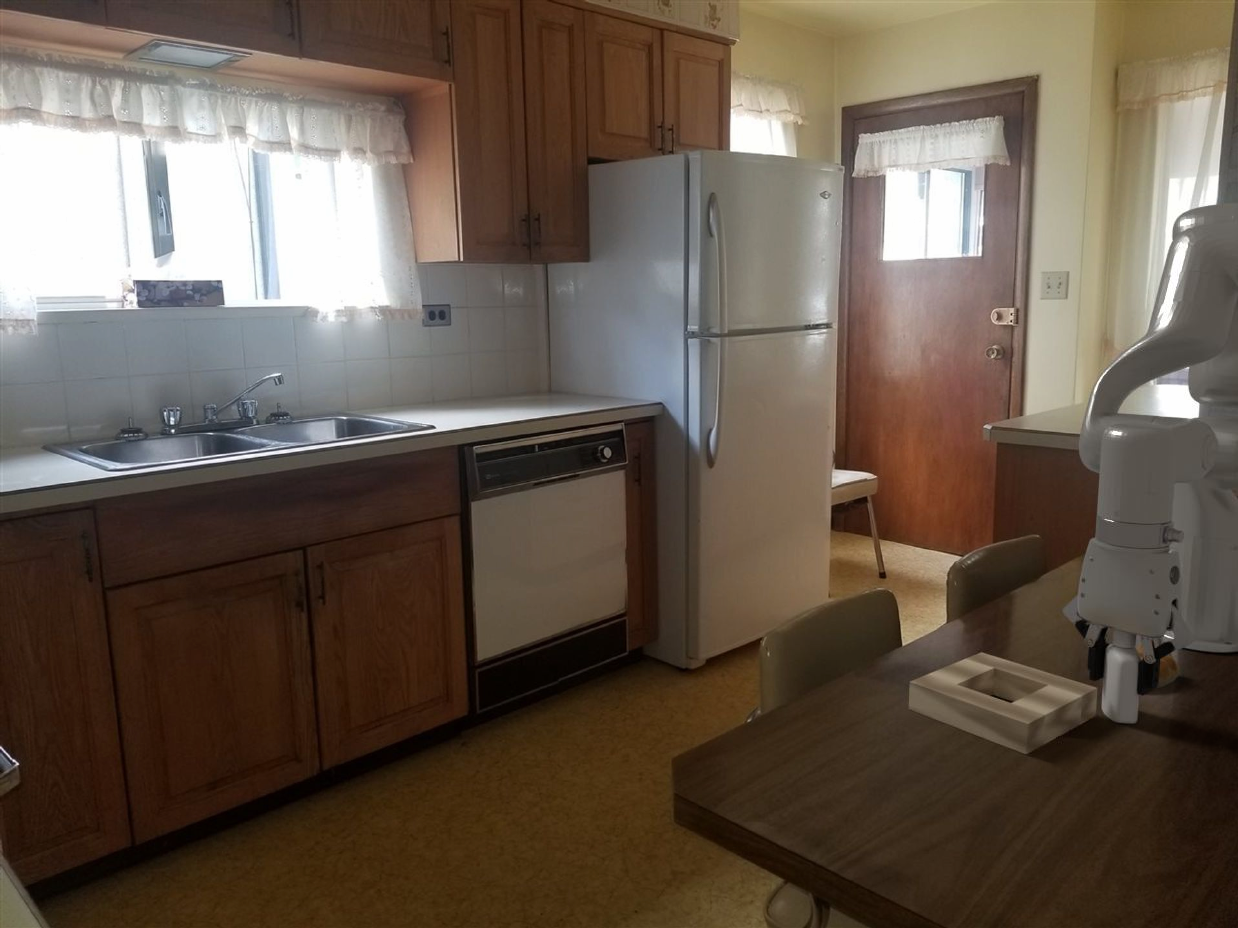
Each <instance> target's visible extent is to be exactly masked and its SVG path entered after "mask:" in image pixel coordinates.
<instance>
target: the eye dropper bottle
mask: <svg viewBox="0 0 1238 928" xmlns="http://www.w3.org/2000/svg"><path fill="white" fill-rule="evenodd" d="M1111 637H1112V639H1111V643H1109V645H1108V646H1107V648H1106V651H1105V661H1104V676H1103V678H1102V679H1103V680H1102V692H1101V693H1102V695H1101V711H1102V713H1103V714H1104V715H1105V716H1106V717H1107V718H1108V719H1110V720H1111V721H1113V722H1114V723H1119V724H1136V723H1137V722H1138V716H1139V715H1138V714H1139V702H1140V700H1139V699H1140V695H1138V694H1137V683H1138V663H1139V661H1141V657H1140V655H1139V653H1138V651H1137V649H1136V648H1137V647H1136V644H1137V643H1136V642H1137V635H1136V634H1132V633H1128V632H1124V631H1120V630H1116V629H1112V636H1111Z"/></svg>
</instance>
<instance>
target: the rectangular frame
mask: <svg viewBox="0 0 1238 928" xmlns="http://www.w3.org/2000/svg"><path fill="white" fill-rule="evenodd" d="M994 696H996V697H994ZM997 697H998V698H997ZM999 698H1001V699H999ZM1004 699H1005V700H1008V701H1005V700H1004ZM1009 701H1011V702H1009ZM1097 701H1098V687H1095V686H1092V685H1090V684H1089V685H1088V684H1086V683H1082V682H1079V681H1075V680H1073V679H1069V678H1067V677H1063V676H1060V675H1057V674H1053V673H1049V672H1046V671H1044V670H1041V669H1037V668H1034V667H1031V666H1028V665H1027V666H1026V665H1024V664H1021V663H1017V662H1013V661H1010V660H1008V659H1005V658H1001V657H998V656H995V655H992V654H991V655H990V654H988V653H985V652H979V653H977V654H974V655H970V656H969V657H966V658H964V659H962V660H959V661H957V662H954V663H952V664H950V665H946V666H944V667H942V668H940V669H937V670H935V671H932V672H930V673H928V674H925V675H922V676H920V677H918V678H915V679H913V680H911V681H909V691H908V710H910V711H913V712H915V713H918V714H920V715H923V716H926V717H928V718H931V719H933V720H935V721H938V722H941V723H944V724H946V725H949V726H951V727H954V728H956V729H959V730H961V731H964V732H967V733H970V734H972V735H975V736H977V737H979V738H981V739H985V740H987V741H989V742H993V743H996V744H998V745H1001V746H1003V747H1006V748H1009V749H1011V750H1014V751H1016V752H1019V753H1021V754H1024V755H1028V754H1029V753H1031V752H1033V751H1036V750H1037V749H1039V748H1040V747H1043V746H1045V745H1046V744H1047V743H1050V742H1052V741H1053V740H1055V739H1057V738H1059V737H1061V736H1062V735H1064V734H1066V733H1068V732H1070V731H1072V730H1074V728H1077V727H1079V726H1080V725H1082V724H1084V723H1086V722H1088V721H1089V719H1090V720H1091V719H1094V718H1095V717H1096V715H1097ZM1078 725H1079V726H1078ZM1069 730H1070V731H1069ZM1058 736H1059V737H1058ZM1056 737H1057V738H1056Z"/></svg>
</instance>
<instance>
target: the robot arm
mask: <svg viewBox="0 0 1238 928" xmlns="http://www.w3.org/2000/svg"><path fill="white" fill-rule="evenodd" d="M1171 232H1172V234H1171V235H1172V236H1171V237H1172V241H1171V242H1170V245H1169V248H1168V250H1167V255H1166V258H1165V262H1164V266H1163V270H1162V274H1161V277H1160V281H1159V285H1158V289H1157V292H1156V297H1155V301H1154V306H1153V310H1152V313H1151V315H1150V320H1149V326H1148V329H1147V331H1146V333H1145V334H1144V336H1143V337H1142V338H1140V339H1139V340H1137V341H1136V342H1135V343H1133V344H1132V345H1130V346H1128V348H1126V349H1125V350H1123V352H1121V353H1120V354H1119V355H1118V356H1116V357H1115V358H1114V360H1113V361H1111V363H1110V364H1109V365H1108V366H1107V367H1106V368H1105V369H1104V370H1103V372H1102V373H1101V374H1100V376H1099V377H1097V380H1096V381H1095V383H1094V384H1093V387H1092V389H1091V392H1090V395H1089V398H1088V402H1087V405H1086V408H1085V412H1084V417H1083V420H1082V424H1081V429H1080V434H1079V439H1078V452H1079V453H1078V454H1079V458H1080V460H1081V462H1082V464H1083V465H1084V467H1085V468H1087V469H1088V470H1089V471H1092V472H1095V473H1096V474H1097V473H1098V474H1099V475H1098V477H1099V478H1098V479H1099V480H1098V491H1097V492H1098V495H1097V506H1096V507H1097V509H1096V523H1095V535H1094V536H1095V537H1092V538H1090V539H1089V542H1088V545H1087V548H1086V552H1085V554H1084V555H1085V556H1084V557H1083V558H1084V559H1083V563H1082V567H1081V572H1080V576H1079V577H1080V578H1079V584H1078V591H1077V593H1078V594H1077V595H1076V596H1075V597H1074V598H1072V600H1070V602H1068V603H1067V605H1065V606H1064V607H1063V608H1062V613H1063V615H1064V616H1065V617H1066V618H1067V619H1068V620H1069V621H1070V622H1071V623H1072V624H1073V625H1074V627H1075V629H1076V630H1077V631H1078V633H1079V634H1080V635H1081V636H1082V638H1083V640H1084V641H1083V643H1084V644H1085V646H1086V647H1087V648H1088V654H1087V667H1086V668H1087V670H1089V680H1090V681H1093V682H1097V681H1099V680H1101V679H1103V676H1104V661H1105V651H1106V648H1107V646H1108V645H1110V643H1109V642H1107V637H1108V634H1109V631H1110V629H1112V630H1113V629H1116V630H1120V631H1124V632H1128V633H1132V634H1136V636H1139V640H1140V645H1141V647H1142V652H1143V660H1141V661H1139V663H1138V683H1137V694H1138V695H1139V696H1142V697H1143V696H1145V695H1147V694H1150V692H1152V691H1154V690H1155V689H1157V688H1156V687H1157V686H1158V683H1159V671H1160V659H1162V658H1163V657H1165V656H1167V655H1168V654H1170V653H1171V654H1172V653H1173V652H1175V651H1179V650H1181V649H1183V648H1184V649H1188V650H1192V651H1200V652H1207V653H1235V652H1237V653H1238V497H1237V496H1236V495H1235V493H1234V491H1232V490H1238V418H1237V417H1226V416H1225V417H1222V416H1221V417H1220V416H1200V417H1191V418H1190V417H1180V416H1179V417H1176V416H1175V417H1174V416H1164V415H1163V416H1161V415H1160V416H1159V415H1152V414H1151V415H1150V414H1149V415H1148V414H1137V413H1136V414H1135V413H1119V411H1120V408H1121V407H1122V404H1123V403H1124V401H1125V400H1126V399H1127V398H1128V397H1129V396H1130V395H1131V394H1132V393H1134V391H1136V390H1138V389H1139V388H1140V387H1142V386H1143V385H1146V384H1147V383H1150V382H1151V381H1154V380H1156V379H1158V378H1162V377H1163V376H1166V375H1170V374H1172V373H1175V372H1178V371H1182V370H1185V369H1187V368H1188V376H1187V381H1188V382H1187V383H1188V385H1187V387H1188V392H1189V395H1190V397H1191V398H1192V399H1193V400H1194V402H1196V403H1199V404H1201V405H1205V406H1209V407H1215V408H1216V407H1217V408H1228V409H1230V408H1231V409H1238V202H1227V203H1219V204H1217V203H1216V204H1210V205H1203V206H1199V207H1195V208H1191V209H1189V210H1186V211H1185V212H1183V213H1181V214H1180V215H1178V216H1177V218H1176V219H1175V221H1174V222H1173V225H1172V231H1171Z"/></svg>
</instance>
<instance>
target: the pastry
mask: <svg viewBox="0 0 1238 928" xmlns="http://www.w3.org/2000/svg"><path fill="white" fill-rule="evenodd" d="M1135 648H1136V649H1137V651H1138V653H1139V655H1140V657H1141V660H1143V652H1142V647H1141V644H1140V645H1138V647H1135ZM1181 670H1182V669H1181V668H1180V667H1179V665H1178V662H1177V661H1176V659H1175V658H1174V656H1173V654H1172V653H1170V654H1168V655H1167V656H1165V657H1163V658H1162V659H1160V671H1159V683H1158V686H1157V687H1156V688H1155V689H1160V688H1164V686H1167V685H1169V684H1171V683H1172V682H1174V681H1176V679H1177V678H1178V677H1179V676H1180V674H1181V673H1182V671H1181Z"/></svg>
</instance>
